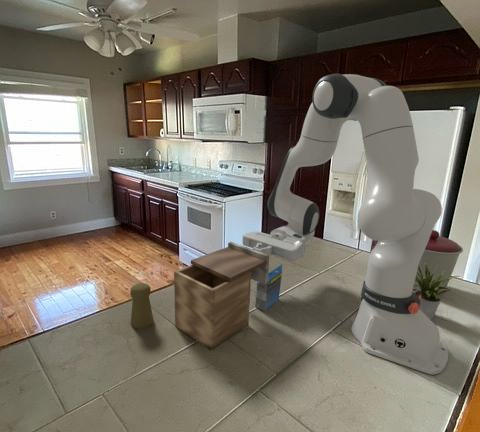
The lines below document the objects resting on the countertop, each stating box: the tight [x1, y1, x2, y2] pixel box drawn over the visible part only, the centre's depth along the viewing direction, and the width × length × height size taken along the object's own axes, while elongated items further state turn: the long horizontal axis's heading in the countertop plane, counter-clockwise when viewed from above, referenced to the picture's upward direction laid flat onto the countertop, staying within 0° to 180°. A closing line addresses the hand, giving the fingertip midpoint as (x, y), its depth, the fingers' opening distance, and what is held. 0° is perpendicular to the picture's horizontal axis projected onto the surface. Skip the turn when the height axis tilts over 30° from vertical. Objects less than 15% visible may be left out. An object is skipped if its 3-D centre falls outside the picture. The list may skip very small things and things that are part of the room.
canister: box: [413, 229, 464, 294], centre depth 109 cm, size 18×18×21 cm
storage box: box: [173, 264, 252, 351], centre depth 83 cm, size 14×14×16 cm
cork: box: [129, 282, 154, 330], centre depth 84 cm, size 6×6×11 cm
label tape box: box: [254, 263, 283, 312], centre depth 95 cm, size 9×4×12 cm, turn 146°
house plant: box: [413, 263, 460, 320], centre depth 93 cm, size 14×14×16 cm
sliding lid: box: [190, 241, 270, 285], centre depth 86 cm, size 14×16×9 cm
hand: (256, 251), depth 94 cm, fingers closed
